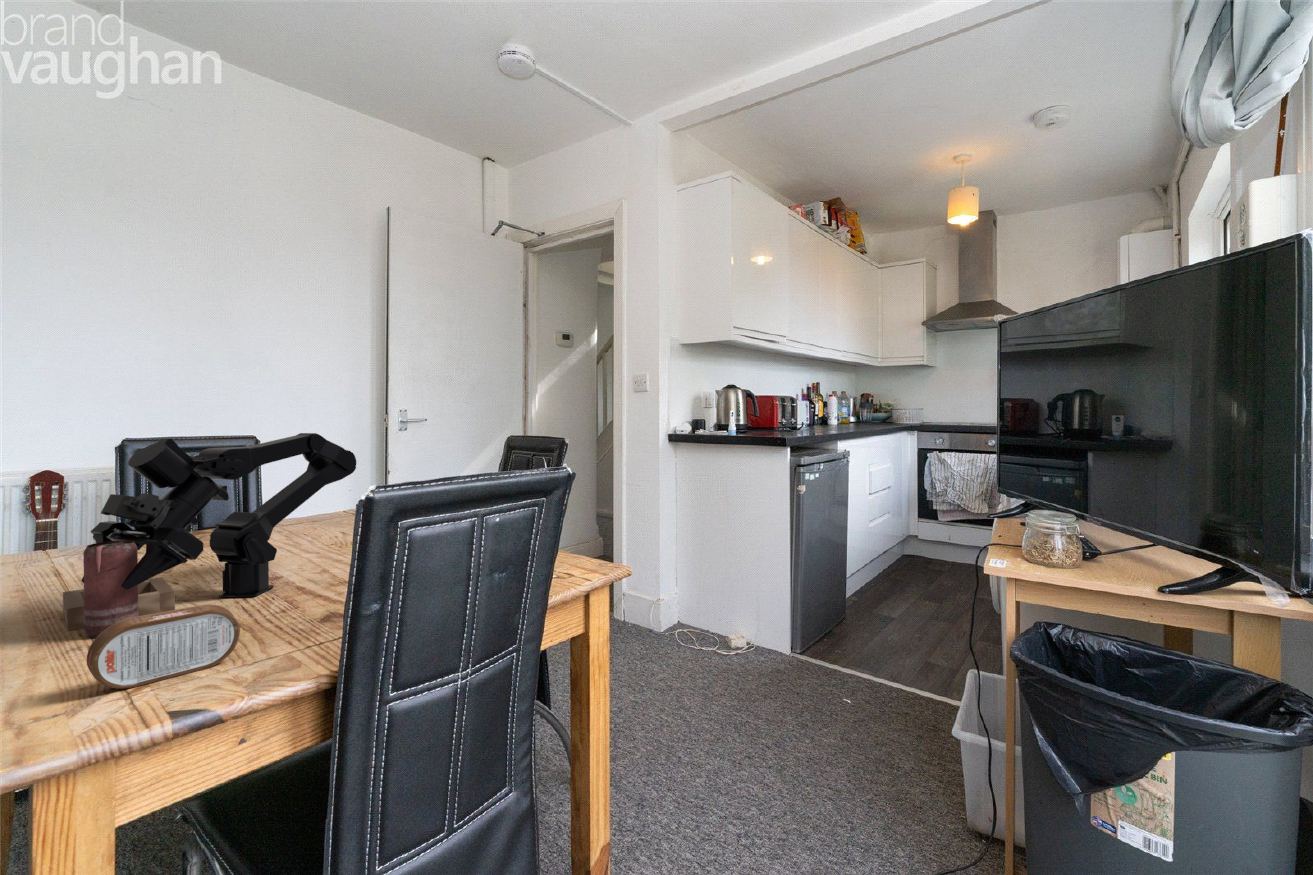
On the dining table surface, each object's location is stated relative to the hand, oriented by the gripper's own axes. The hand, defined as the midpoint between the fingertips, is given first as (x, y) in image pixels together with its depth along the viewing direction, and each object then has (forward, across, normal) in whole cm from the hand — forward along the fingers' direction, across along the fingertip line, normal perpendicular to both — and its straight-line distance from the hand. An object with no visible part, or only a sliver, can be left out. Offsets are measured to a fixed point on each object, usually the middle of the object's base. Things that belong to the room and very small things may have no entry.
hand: (103, 585), depth 88 cm
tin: (+11, +26, +1) cm, 28 cm away
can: (+5, 0, +6) cm, 8 cm away
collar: (0, -10, +11) cm, 15 cm away
